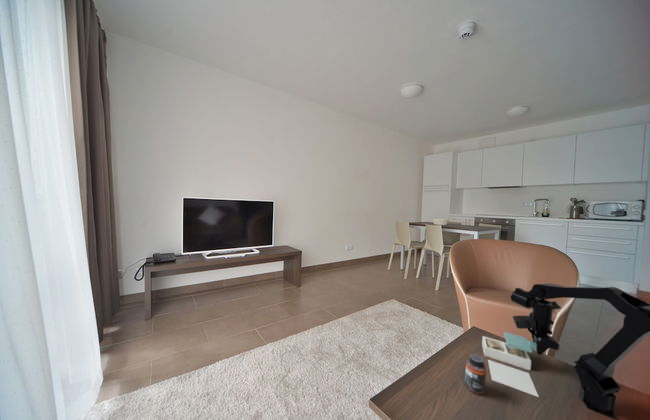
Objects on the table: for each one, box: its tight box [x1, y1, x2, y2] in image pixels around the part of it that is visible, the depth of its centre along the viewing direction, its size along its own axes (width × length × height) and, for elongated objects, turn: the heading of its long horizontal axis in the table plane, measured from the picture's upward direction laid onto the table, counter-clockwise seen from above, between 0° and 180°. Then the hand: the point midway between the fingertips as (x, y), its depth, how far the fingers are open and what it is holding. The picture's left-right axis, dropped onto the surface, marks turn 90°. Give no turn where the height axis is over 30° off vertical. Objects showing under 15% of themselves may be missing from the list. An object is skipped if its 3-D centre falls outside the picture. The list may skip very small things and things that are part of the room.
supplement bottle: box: [464, 353, 487, 395], centre depth 79 cm, size 6×6×11 cm
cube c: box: [487, 340, 503, 352], centre depth 98 cm, size 4×4×4 cm
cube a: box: [512, 348, 524, 358], centre depth 96 cm, size 3×3×3 cm
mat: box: [487, 359, 539, 398], centre depth 85 cm, size 13×12×1 cm
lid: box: [503, 331, 537, 354], centre depth 93 cm, size 12×9×2 cm
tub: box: [481, 335, 532, 371], centre depth 96 cm, size 15×9×4 cm, turn 60°
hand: (537, 351), depth 91 cm, fingers closed on lid, 3 cm apart
